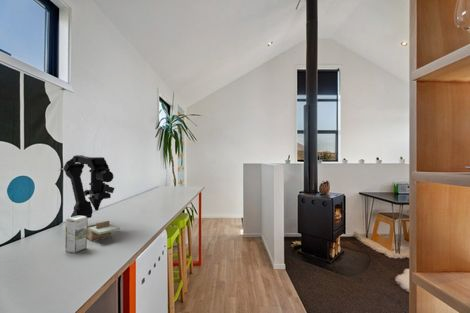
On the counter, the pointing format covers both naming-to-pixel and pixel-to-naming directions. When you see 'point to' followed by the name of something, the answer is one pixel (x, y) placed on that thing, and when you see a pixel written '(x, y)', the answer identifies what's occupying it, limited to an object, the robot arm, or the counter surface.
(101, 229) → the lid
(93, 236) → the toolbox
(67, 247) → the syrup box
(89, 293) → the counter surface
